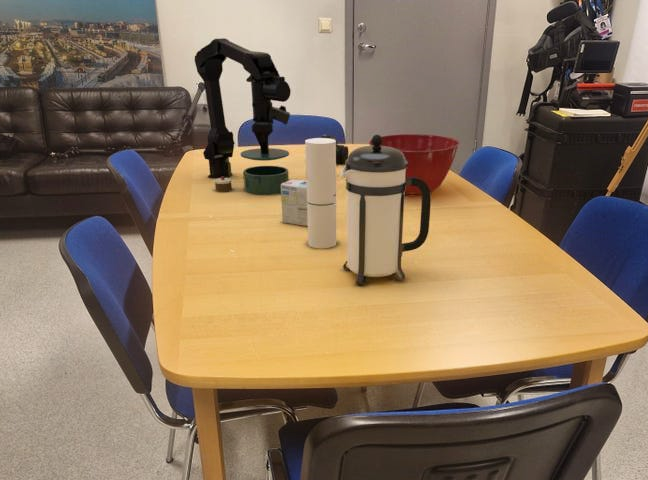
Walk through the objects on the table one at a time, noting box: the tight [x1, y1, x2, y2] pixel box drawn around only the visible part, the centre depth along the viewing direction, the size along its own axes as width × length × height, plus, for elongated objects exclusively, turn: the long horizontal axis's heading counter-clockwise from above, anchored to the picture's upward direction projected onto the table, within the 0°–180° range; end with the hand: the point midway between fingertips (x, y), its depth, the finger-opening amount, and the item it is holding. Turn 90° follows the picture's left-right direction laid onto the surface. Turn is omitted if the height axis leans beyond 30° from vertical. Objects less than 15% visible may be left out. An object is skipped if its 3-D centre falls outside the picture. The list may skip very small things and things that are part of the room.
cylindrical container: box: [304, 137, 337, 249], centre depth 152 cm, size 7×7×25 cm
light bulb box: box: [280, 178, 308, 227], centre depth 172 cm, size 11×7×11 cm, turn 65°
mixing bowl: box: [368, 133, 460, 197], centre depth 201 cm, size 28×28×15 cm
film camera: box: [320, 134, 350, 165], centre depth 237 cm, size 18×12×10 cm
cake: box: [213, 176, 233, 193], centre depth 203 cm, size 5×5×4 cm
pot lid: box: [240, 142, 290, 162], centre depth 199 cm, size 15×15×6 cm
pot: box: [242, 165, 290, 196], centre depth 204 cm, size 14×20×6 cm
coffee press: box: [339, 134, 432, 287], centre depth 134 cm, size 17×16×30 cm
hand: (264, 151), depth 200 cm, fingers closed on pot lid, 2 cm apart
